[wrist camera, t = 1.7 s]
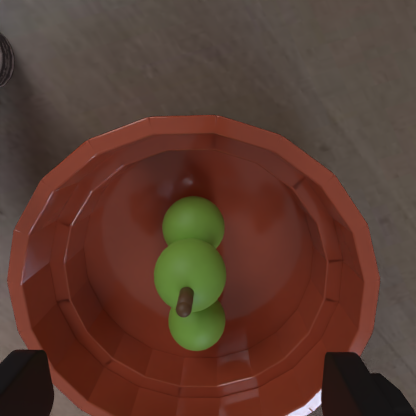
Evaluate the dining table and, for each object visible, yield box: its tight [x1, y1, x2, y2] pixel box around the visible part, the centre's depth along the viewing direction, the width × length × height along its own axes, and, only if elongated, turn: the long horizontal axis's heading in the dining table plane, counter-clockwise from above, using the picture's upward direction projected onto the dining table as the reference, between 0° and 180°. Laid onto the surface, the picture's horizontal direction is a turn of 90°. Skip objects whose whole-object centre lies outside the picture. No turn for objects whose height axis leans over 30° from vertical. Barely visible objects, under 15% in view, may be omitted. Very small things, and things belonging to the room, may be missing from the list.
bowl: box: [7, 115, 380, 416], centre depth 14 cm, size 14×14×4 cm
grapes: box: [154, 196, 226, 351], centre depth 12 cm, size 8×3×6 cm, turn 1°
